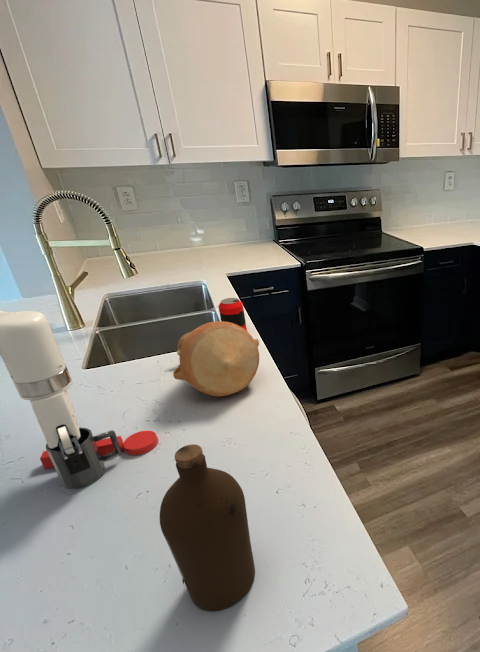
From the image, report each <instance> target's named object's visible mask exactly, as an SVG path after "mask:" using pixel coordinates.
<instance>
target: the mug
mask: <svg viewBox="0 0 480 652" xmlns="http://www.w3.org/2000/svg"><path fill="white" fill-rule="evenodd" d="M79 430H80V435H81V437H80V438H79V439H78V442H79V444H80V447H81V450H84V452H85V454H86V457H87V459H88V461H89V464H90V468H89V469H86V470H83V471H81V472H78V473H76V474H73V475H71V474H70V473H69V470H68V468H67V466H66V464H65V462H64V460H63V454H62V452H61V449H60V446H59V444H58V445H57V447H54V448H53V449H52V448H49V446H48V444H47V443H46V444H45V451H47V452H48V454H49V457H50V459H51V461H52V463H53V465H54V467H53V468H54V469H55V472H56V474H57V476H58V478H59V481H60V482H61V484H62V485H63V486H64V488H67V489H71V490H77V489H82V488H86V487H87V486H90V485H92V484H94V483H96V482H97V481H98V480H99V479H101V478H102V477H103V476H104V474H105V472H106V469H107V468H106V465H105V461H108V460H110V459H113V458H115V457H119V456H121V455H122V454H123V453H122V450H121V447H120V444H119V442H118V439H117V433H116V431H115V430H113V429H112V430H108V431H106V432H103V433H100V434H97V435H94V434H93V431H92V429H89V427H88V428H87V427H79ZM69 437H70V439H72V438H74V437H73V435H71V436H69ZM107 438H110V439H111V442H112V444H113V447H114V450H115V451H114V452H111V453H108V454H106V455H103V456H101V454H100V452H99V449H98V447H97V444H96V441H99V440H102V439H107ZM60 440H61V439H60ZM72 445H73V447H76V445H75V442H72ZM76 448H77V447H76Z"/></svg>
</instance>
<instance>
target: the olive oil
mask: <svg viewBox="0 0 480 652" xmlns="http://www.w3.org/2000/svg"><path fill="white" fill-rule="evenodd" d="M174 460H175V468H176V470H177V473H178V476H179V477H178V478H177V479H176V480H175V481H174V482H173V483H172V485H171V486H170V487H168V490H167V491H166V492H165V493H164V495H163V498H162V501H161V502H160V503H161V504H160V509H159V525H160V530H161V533H162V535H163V537H164V539H165V542H166V544H167V546H168V548H169V550H170V552H171V555H172V557H173V559H174V562H175V564H176V566H177V569H178V571H179V574H180V575H181V580H182V581H181V582H182V584H183V585H184V586H186V587H185V588H186V590H187V592H188V594H189V597H190V599H191V601H192V603H193V604H194V605H195V606H196V607H197V608H199V609H201V610H204V611H208V612H216V611H221V610H225V609H228V608H230V607H232V606H234V605H235V604H237V603H238V602H239V601H241V600H242V599H243V598H244V597H245V596H246V595H247V594H248V592H249V591H250V589H251V588H252V586H253V583H254V580H255V577H256V567H255V559H254V554H253V549H252V543H251V536H250V535H251V534H250V529H249V521H248V513H247V506H246V505H247V503H246V498H245V493H244V491H243V489H242V486H241V485H240V484H239V482H238V481H237V480H236V478H234V476H233V475H231V474H230V473H228V472H226V471H224V470H221V469H217V468H212V467H208V464H207V459H206V455H205V454H204V451H203V449H202V446H201V445H199V444H194V443H193V444H187V445H184V446H182V447H180V448H179V449H178V450H176V451H175V453H174Z"/></svg>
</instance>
